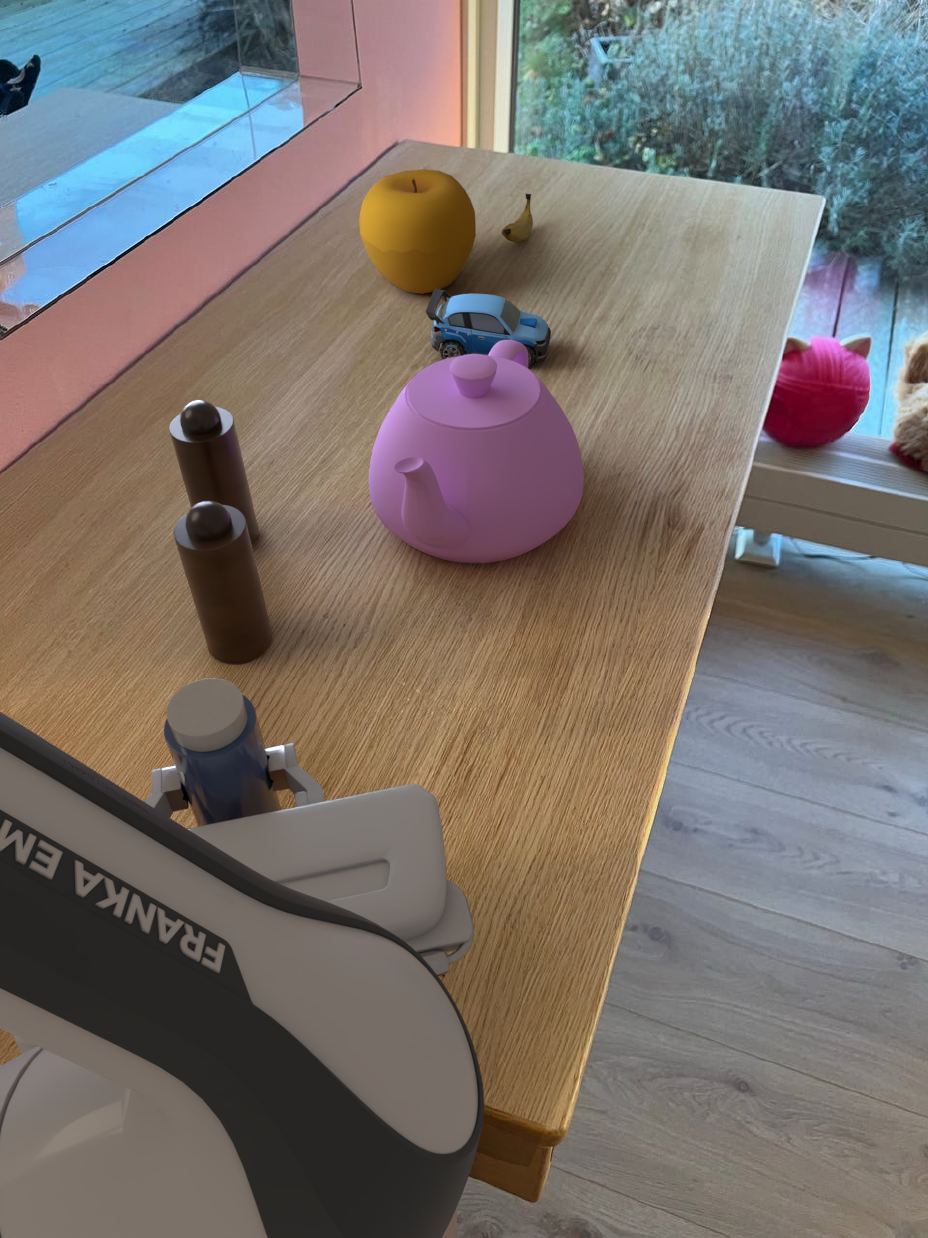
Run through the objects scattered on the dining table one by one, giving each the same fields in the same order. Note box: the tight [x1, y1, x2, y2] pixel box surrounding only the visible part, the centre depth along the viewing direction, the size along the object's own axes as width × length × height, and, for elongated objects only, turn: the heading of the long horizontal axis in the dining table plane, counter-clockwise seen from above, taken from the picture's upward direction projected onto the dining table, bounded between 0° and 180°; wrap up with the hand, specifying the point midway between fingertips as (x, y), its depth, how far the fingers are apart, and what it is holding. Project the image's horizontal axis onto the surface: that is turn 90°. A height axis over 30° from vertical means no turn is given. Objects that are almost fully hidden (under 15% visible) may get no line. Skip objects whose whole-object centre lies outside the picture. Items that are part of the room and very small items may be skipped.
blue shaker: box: [163, 677, 283, 827], centre depth 52 cm, size 4×4×12 cm
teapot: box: [368, 340, 585, 564], centre depth 79 cm, size 25×18×14 cm
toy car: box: [425, 288, 552, 367], centre depth 100 cm, size 6×12×6 cm, turn 80°
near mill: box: [173, 501, 274, 665], centre depth 70 cm, size 5×5×13 cm
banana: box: [501, 192, 534, 244], centre depth 118 cm, size 10×2×4 cm, turn 163°
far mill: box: [168, 399, 260, 545], centre depth 79 cm, size 5×5×13 cm
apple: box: [358, 169, 477, 295], centre depth 110 cm, size 13×13×11 cm
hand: (225, 762), depth 52 cm, fingers closed on blue shaker, 4 cm apart
